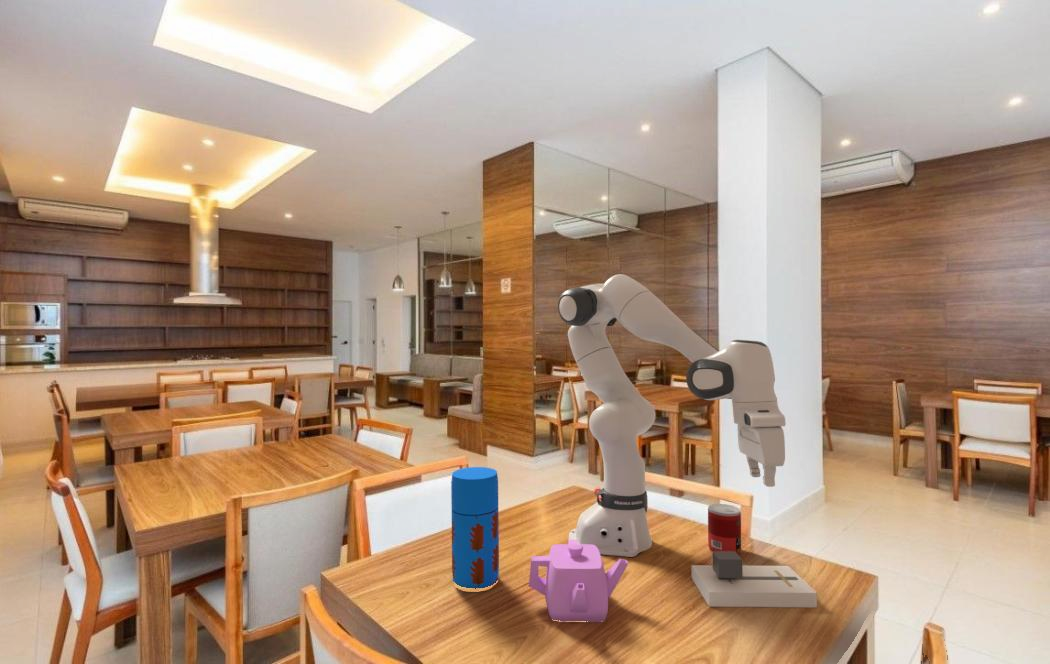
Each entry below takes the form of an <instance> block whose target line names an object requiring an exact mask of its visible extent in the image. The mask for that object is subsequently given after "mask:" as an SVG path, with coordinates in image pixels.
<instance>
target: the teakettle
mask: <svg viewBox="0 0 1050 664" xmlns="http://www.w3.org/2000/svg"><path fill="white" fill-rule="evenodd" d="M539 567H546V573H545V574H546V575H545V578H543V577H540V576H539ZM628 567H629V561H628V560H627V559H622V558H618V560H617V561H616V562H615V563H614V564H613V565H612V566H611V568H609V569H608V570H607V572H605V567H604V563H603V558H602V554H600V552H599V550H598V548H597V547H596V546H595V545H591V544H578V540H569V539H567V543H566V544H565V543H559V544H558V543H557V544H555V543H554V544H553V545H552V546H551V548H550V550H549V555H541V556H540V555H538V556H537V555H535V556H534V555H533V556H531V557H530V570H529V580H528V587H530V588H531V589H533V590H534V591H536V592H538V593H540V594H541V595H543V596H544V597H545V604H546V607H547V608H546V609H547V612H548V615H549V618H550V617H551V618H550V620H551V619H553V620H558V621H559V620H560V621H586V622H587V621H588V622H598V623H602V622H601V621H604V620H605V621H606V618H607V616H608V612H609V611H608V609H609V598H610V597H612V595H613V592H614V590H615V588H616V587H617V585H618V583H619V581H620V580H621V578H622V576H623V575H624V573H625V571H626V569H627V568H628ZM605 621H604V622H605Z"/></svg>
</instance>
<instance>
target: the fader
mask: <svg viewBox="0 0 1050 664" xmlns="http://www.w3.org/2000/svg"><path fill="white" fill-rule="evenodd" d="M711 552H712V553H711V554H712V565H713V570H714V572H715V573H716V574H717V576H718V577H719V578H743V573H742V566H743V559H742V557H741V556H740V554H739V555H738V554H737V553H736V552H735V551H711Z"/></svg>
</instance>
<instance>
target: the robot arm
mask: <svg viewBox="0 0 1050 664" xmlns="http://www.w3.org/2000/svg"><path fill="white" fill-rule="evenodd" d="M557 309H558V314H559V316H560V318H561V320H562V321H563V322H564V323H565V324H567V325H568V326H569V328H568V330H567V338H568V342H569V347H570V349H571V353H572V355H573V359H574V360H575V363H576V365H577V368H578V370H579V372H580V374H581V376H582V378H583V381H584V383H585V385H586V387H587V389H588V390H589V391H590V392H591V393H594V394H595V396H597V398H598V399H599V400H600V401H601V402H602V404H601V405H600V406H598V407H597V408H595V409H594V410H593V411H592V412H591V414H590V416H589V420H588V427H589V430H590V433H591V434H592V436H593V438H595V440H597V442H598V445H599V448H600V451H601V457H602V462H603V486H604V487H603V488H600V487H599V486H595V487H594V488H593V493H594V495H595V496H596V502H595V503H594V504H593V505H591V506H590V507H589V508H587V509H586V510H584V511H583V512H581V513H580V515H578V520H577V523H576V528H573V529H572V530H570V531H569V534H568V540H578V544H591V545H595V546H596V547H597V548H598V550H599V552H600V555H607V556H618V557H629V558H633V557H637V555H638V554H639V553H641V552H645V551H647V550H649V549H650V548H651V547H652V546H653V540H652V538H651V534H650V530H649V523H648V518H647V517H648V516H647V512H648V505H649V504H648V503H649V502H648V491H647V490H646V464H645V461H644V458H642V456H641V454H640V451H639V448H638V447H639V446H638V442H637V438H638V437H639V436H641V435H643V434H645V433H646V432H647V431H648V430H650V428H651V427H652V426H653V424H654V423H655V421H656V410H655V408H654V405H653V404H652V403H651V402H650V401H649V400H647V399H646V398H644V396H643V395H642V394H641V393H640V392H639V391H638V389H637V388H636V387H635V385H634V384H633V382H632V381H631V380H630V379H629V377H628V375H627V374H626V373H625V371H624V369H623V367H622V365H621V363H620V361H619V359H618V357H617V355H616V353H615V350H614V349H613V347H612V345H611V343H610V341H609V339H608V337H607V334H606V328H607V327H613V326H614V325H615V324H616V323H617V322H619V323H620V324H621V325H622V326H623V327H624V328H625V329H626V330H627V331H628V332H629V333H631V334H633V336H636V337H637V338H639V339H641V340H644V341H648V342H651V343H658V344H660V345H665V346H668V347H670V348H672V349H674V350H676V351H678V352H679V353H681V354H682V356H684V357H685V358H687V359H688V361H690V362H691V364H690V365H689V367H688V368H687V371H686V376H685V378H686V379H685V380H686V385H687V387H688V389H689V391H690V393H691V394H693V396H695V397H696V398H699V399H702V400H706V401H716V400H724V399H726V400H727V399H728V400H731V404H732V405H731V406H732V416H733V423H734V424H736V425H737V443H738V444H737V445H738V449H739V453H742V454H743V455H745V456H746V461H747V464H748V468H749V475H750V476H751V477H752V478H760V477H761V469H760V466H759V464H761V465H762V469H763V476H762V480H763V484H764V486H765V487H769V488H773V487H775V486H776V481H775V477H776V472H777V467H783V466H785V461H786V446H785V443H786V441H785V432H784V429H783V427H785V426H786V417H785V415H784V414H783V413H782V412H781V410H780V408H779V403H778V397H777V396H776V395H777V394H776V393H775V381H776V377H775V369H774V362H773V357H772V353H771V350H770V348H769V346H768V345H767V344H765V342H762V341H758V340H750V339H749V340H748V339H746V340H745V339H734V340H731V341H730V342H728V344H727V345H725V346H724V347H723V348H721V349H717V348H716V347H715V346H714V345H712V344H711V343H710V342H708V340H706V339H705V338H704V337H703V336H701V335H700V334H699V333H697V331H694V330H693V329H692V328H691V327H689V326H688V325H687V324H686V323H685V322H684V321H683V320H682V319H680V318H679V317H678V316H677V315H676V314H675V313H674V312H673V311H672V310H671V309H669V307H668V306H667V305H666V304H665V303H664V302H662V300H661V299H660V298H658V297H657V295H655V294H654V293H653V292H652V291H650V290H649V289H648V288H647V287H645V286H644V285H643V284H641V283H640V282H639V281H637V280H636V279H633V278H632V277H630V276H629V275H626V274H623V273H622V274H621V273H619V274H615V275H613V276H610V277H609V278H608V279H607V280H606V281H605V282H604V283H591V284H587V285H583V286H575V287H572V288H569V289H567V290H565V291H563V292H562V293H561V295H560V296H559V298H558V302H557Z"/></svg>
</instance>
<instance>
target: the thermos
mask: <svg viewBox="0 0 1050 664" xmlns="http://www.w3.org/2000/svg"><path fill="white" fill-rule="evenodd" d="M450 484H451V485H450V488H451V491H450V492H451V494H450V495H451V497H450V498H451V504H450V505H451V572H452V582H453V581H454V582H455V583H456V584H457V585H459V586H461V587H466V588H475V589H476V588H485V587H488V586H491V585H493V584H494V583H496V581H497V580H498V581H499V577H500V576H499V573H500V572H499V571H500V545H499V540H500V538H499V536H500V535H499V534H500V533H499V532H500V530H499V526H500V525H499V523H500V522H499V477H498V471H497V470H496V469H494V468H491V467H487V466H486V467H484V466H471V467H464V468H460V469H459V468H458V469H456V470H455V471H453V472H452V474H451V481H450Z"/></svg>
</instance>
